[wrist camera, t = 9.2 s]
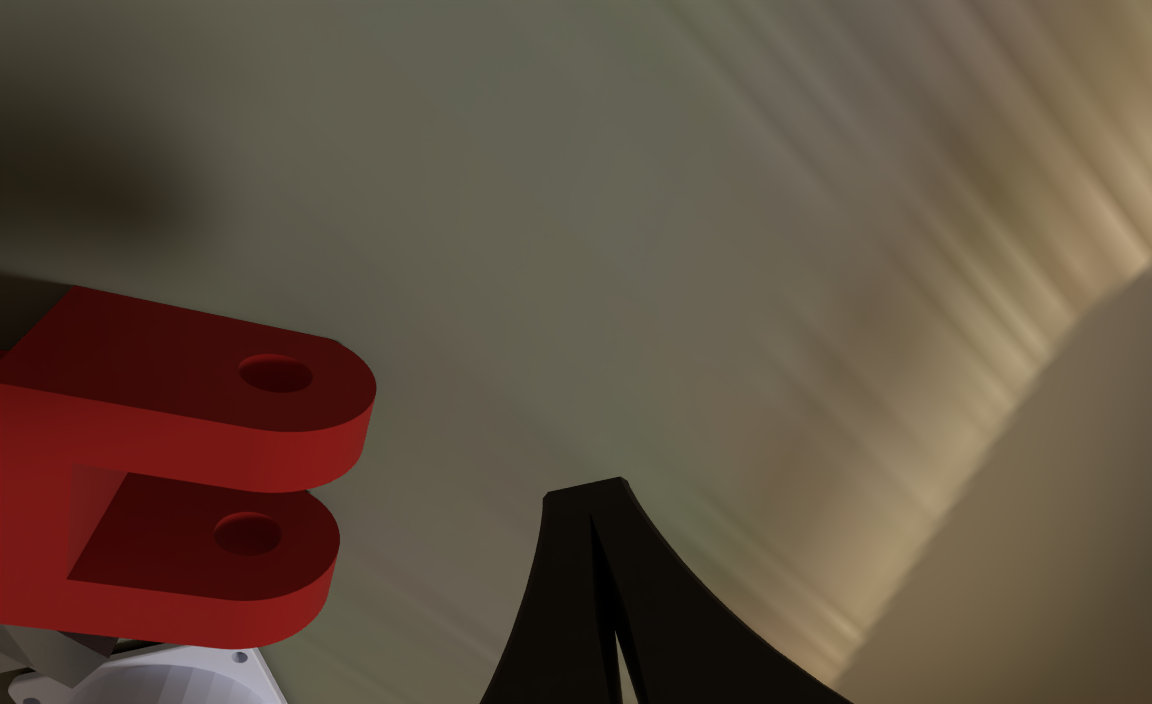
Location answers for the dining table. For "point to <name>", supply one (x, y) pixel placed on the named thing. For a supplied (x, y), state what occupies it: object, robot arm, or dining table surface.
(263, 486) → the mechanical linkage
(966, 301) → the dining table surface
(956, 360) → the dining table surface
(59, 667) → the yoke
